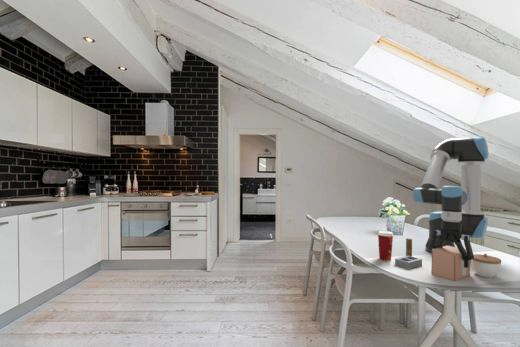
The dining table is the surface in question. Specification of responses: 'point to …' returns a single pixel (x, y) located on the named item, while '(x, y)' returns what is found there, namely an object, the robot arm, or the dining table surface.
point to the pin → (408, 247)
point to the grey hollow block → (408, 262)
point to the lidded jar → (486, 265)
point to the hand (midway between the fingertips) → (450, 270)
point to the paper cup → (385, 244)
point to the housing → (448, 263)
